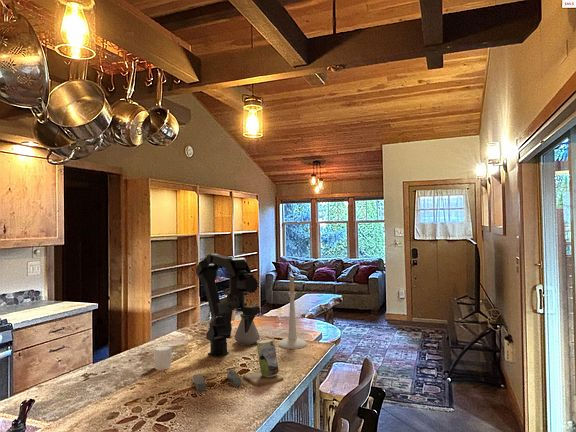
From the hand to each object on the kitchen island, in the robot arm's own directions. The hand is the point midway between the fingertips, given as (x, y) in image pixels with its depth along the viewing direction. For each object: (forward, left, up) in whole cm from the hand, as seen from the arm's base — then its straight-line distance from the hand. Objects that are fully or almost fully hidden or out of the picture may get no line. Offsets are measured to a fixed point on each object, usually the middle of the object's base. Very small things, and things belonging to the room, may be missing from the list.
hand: (237, 331), depth 153 cm
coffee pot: (-17, +28, -12) cm, 35 cm away
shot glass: (-20, -19, -12) cm, 30 cm away
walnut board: (+19, -8, -12) cm, 24 cm away
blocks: (+9, -20, -12) cm, 25 cm away
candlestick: (+4, +32, -12) cm, 34 cm away
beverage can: (+20, -7, -11) cm, 24 cm away
